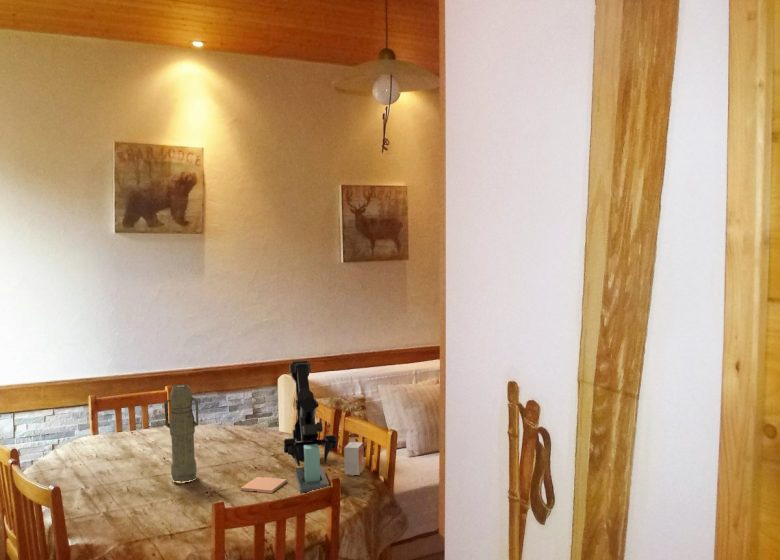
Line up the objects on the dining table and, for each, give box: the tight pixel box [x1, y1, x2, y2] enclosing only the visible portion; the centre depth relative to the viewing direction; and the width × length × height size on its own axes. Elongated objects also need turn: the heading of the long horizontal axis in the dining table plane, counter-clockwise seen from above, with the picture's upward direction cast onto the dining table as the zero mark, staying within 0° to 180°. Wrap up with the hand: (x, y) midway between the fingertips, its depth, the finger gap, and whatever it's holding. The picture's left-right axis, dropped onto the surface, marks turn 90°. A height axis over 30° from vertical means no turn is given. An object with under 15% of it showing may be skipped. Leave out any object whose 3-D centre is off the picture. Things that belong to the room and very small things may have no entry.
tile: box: [240, 476, 288, 494], centre depth 250 cm, size 12×12×1 cm
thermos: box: [163, 384, 199, 482], centre depth 259 cm, size 9×12×35 cm
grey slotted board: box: [294, 465, 330, 494], centre depth 253 cm, size 21×10×2 cm, turn 13°
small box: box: [343, 441, 365, 476], centre depth 263 cm, size 8×6×10 cm
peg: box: [303, 444, 321, 482], centre depth 249 cm, size 5×5×14 cm
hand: (312, 464), depth 248 cm, fingers open, 9 cm apart
